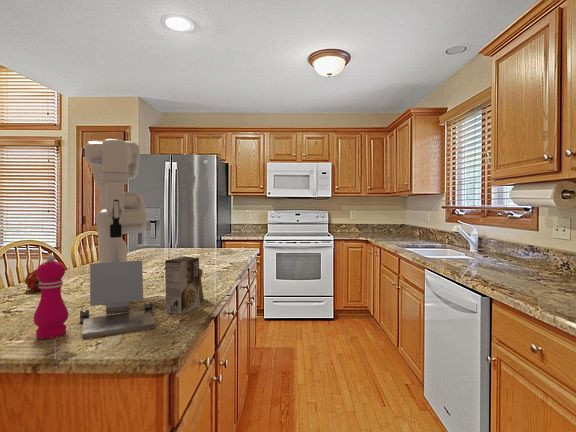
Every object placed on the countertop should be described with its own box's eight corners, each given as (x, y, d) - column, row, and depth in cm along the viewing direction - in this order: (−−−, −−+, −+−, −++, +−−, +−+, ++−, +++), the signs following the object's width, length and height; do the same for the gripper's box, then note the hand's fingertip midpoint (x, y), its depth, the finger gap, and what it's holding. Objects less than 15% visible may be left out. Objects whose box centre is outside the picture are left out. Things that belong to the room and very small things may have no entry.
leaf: (90, 316, 98) (90, 316, 100) (143, 310, 105) (143, 310, 107) (90, 263, 101) (90, 264, 103) (142, 260, 108) (141, 261, 110)
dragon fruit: (42, 290, 143) (40, 300, 133) (20, 280, 139) (17, 290, 129) (56, 272, 145) (55, 282, 135) (35, 262, 140) (33, 271, 130)
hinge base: (80, 320, 99) (80, 309, 99) (151, 311, 108) (151, 301, 108) (77, 339, 85) (77, 327, 85) (159, 327, 94) (159, 316, 94)
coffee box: (184, 304, 116) (183, 256, 115) (200, 307, 113) (200, 257, 113) (164, 312, 107) (164, 259, 107) (181, 314, 105) (181, 261, 105)
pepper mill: (45, 330, 91) (44, 253, 91) (74, 329, 92) (73, 253, 92) (26, 340, 84) (25, 257, 84) (58, 339, 85) (57, 257, 84)
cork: (199, 302, 119) (199, 270, 119) (182, 301, 120) (182, 269, 120) (206, 297, 125) (206, 267, 125) (191, 297, 126) (191, 266, 126)
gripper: (101, 180, 116) (102, 236, 116) (102, 176, 102) (102, 239, 103) (126, 181, 119) (127, 235, 119) (130, 178, 106) (130, 238, 106)
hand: (115, 237), depth 111 cm, fingers closed
